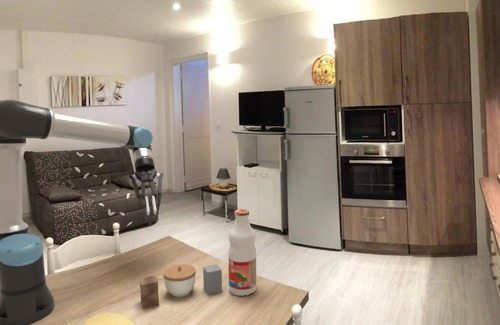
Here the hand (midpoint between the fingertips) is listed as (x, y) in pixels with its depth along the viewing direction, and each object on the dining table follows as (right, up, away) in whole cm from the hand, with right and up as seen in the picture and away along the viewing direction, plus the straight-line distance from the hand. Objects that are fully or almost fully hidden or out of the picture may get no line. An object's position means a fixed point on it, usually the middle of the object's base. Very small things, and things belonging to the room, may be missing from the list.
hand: (151, 212), depth 130 cm
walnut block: (+4, -27, -17) cm, 32 cm away
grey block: (+23, -25, -8) cm, 35 cm away
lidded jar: (+12, -26, -10) cm, 30 cm away
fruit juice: (+34, -25, -8) cm, 43 cm away
